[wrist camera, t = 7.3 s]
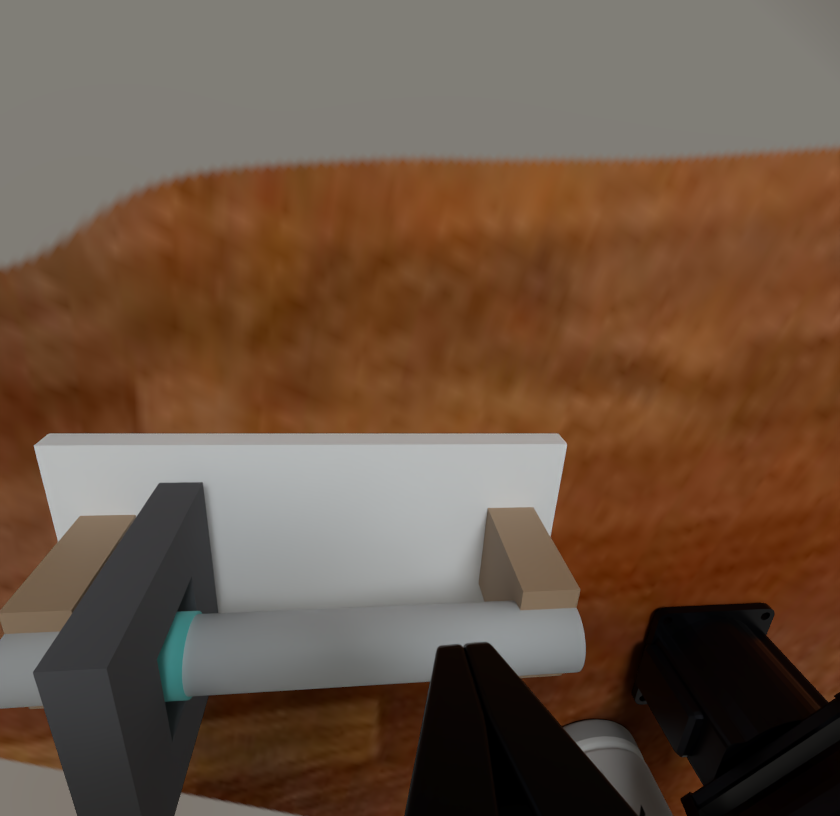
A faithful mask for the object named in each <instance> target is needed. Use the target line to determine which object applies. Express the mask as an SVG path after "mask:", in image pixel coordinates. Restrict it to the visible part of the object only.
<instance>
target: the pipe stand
mask: <svg viewBox="0 0 840 816" xmlns="http://www.w3.org/2000/svg"><path fill="white" fill-rule="evenodd" d="M34 448H35V452H36V456H37V460H38V464H39V468H40V472H41V476H42V480H43V484H44V488H45V492H46V496H47V500H48V504H49V508H50V512H51V516H52V519H53V523H54V527H55V531H56V535H57V539H58V543H57V544H56V545H55V546H54V547H53V549H52V550H51V551H50V552H49V553H48V554H47V556H46V557H45V558H44V559H43V560H42V562H41V563H40V564H39V565H38V566H37V568H36V569H35V570H34V571H33V572H32V573H31V575H30V576H29V577H28V578H27V579H26V581H25V582H24V583H23V584H22V585H21V587H20V588H19V589H18V590H17V591H16V592H15V594H14V595H13V596H12V597H11V598H10V600H9V601H8V602H7V603H6V604H5V606H4V607H3V608H2V609H1V610H0V621H1V625H2V628H3V631H4V636H3V637H2V638H1V640H0V708H15V707H29V709H38V708H44V707H43V704H42V701H41V698H40V694H39V691H38V688H37V685H36V682H35V678H34V675H33V671H34V670H35V668H36V667H37V665H38V664H39V662H40V661H41V659H42V658H43V656H44V655H45V653H46V652H47V650H48V649H49V647H50V646H51V644H52V643H53V641H54V640H55V638H56V637H57V635H58V634H59V632H60V631H61V629H62V628H63V626H64V625H65V623H66V622H67V620H68V619H69V617H70V616H71V614H72V613H73V611H74V610H75V608H76V607H77V605H78V604H79V602H80V601H81V599H82V598H83V596H84V595H85V593H86V592H87V590H88V589H89V587H90V586H91V584H92V583H93V581H94V580H95V578H96V577H97V575H98V574H99V572H100V571H101V569H102V568H103V566H104V565H105V563H106V562H107V560H108V559H109V557H110V556H111V554H112V553H113V551H114V550H115V548H116V547H117V545H118V544H119V542H120V541H121V539H122V538H123V536H124V535H125V533H126V532H127V530H128V529H129V527H130V526H131V524H132V523H133V521H134V520H135V518H136V517H137V515H138V514H139V512H140V511H141V509H142V508H143V506H144V505H145V503H146V502H147V500H148V499H149V497H150V496H151V494H152V493H153V491H154V490H155V488H156V487H157V485H158V484H159V483H180V482H203V487H204V496H205V504H206V513H207V521H208V529H209V538H210V546H211V555H212V563H213V571H214V580H215V588H216V597H217V605H218V613H210V614H202V612H201V611H181V612H177V613H176V615H175V618H174V620H173V622H172V625H171V627H170V629H169V632H168V634H167V637H166V639H165V641H164V644H163V646H162V648H161V651H160V653H159V656H158V658H157V662H158V668H159V673H160V679H161V684H162V689H163V695H164V700H165V702H169V701H185V700H190V699H191V698H192V697H193V696H206V695H222V694H238V693H254V692H270V691H286V690H302V689H318V688H334V687H350V686H366V685H381V684H397V683H413V682H429V681H430V680H431V675H432V670H433V664H434V659H435V654H436V650H437V647H438V646H440V645H449V644H461V645H462V646H464V645H465V644H466V643H473V642H488V643H490V644H491V645H492V646H493V647H494V648H495V649H496V650H497V652H498V653H499V654H500V655H501V656H502V657H503V659H504V660H505V661H506V662H507V663H508V664H509V666H510V667H511V668H512V669H513V670H514V671H515V673H516V674H517V675H518V676H519V677H520V678H528V677H544V676H560V675H562V673H573V672H579V671H581V669H582V668H583V665H584V662H585V654H586V644H585V635H584V629H583V625H582V621H581V618H580V615H579V613H578V610H577V608H576V607H577V602H578V598H579V593H580V588H579V586H578V585H577V583H576V581H575V579H574V578H573V576H572V574H571V572H570V571H569V569H568V567H567V565H566V564H565V562H564V560H563V558H562V557H561V555H560V553H559V551H558V549H557V548H556V546H555V544H554V542H553V541H552V539H551V537H550V536H551V530H552V525H553V519H554V514H555V508H556V503H557V498H558V492H559V487H560V481H561V476H562V470H563V465H564V459H565V454H566V448H567V443H566V442H565V441H564V440H563V439H562V437H561V436H560V435H559V434H48V435H46V436H45V437H44V438H43V439H41V440H40V441H39V442H38V443H36V444H35V445H34Z"/></svg>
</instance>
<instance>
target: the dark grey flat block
mask: <svg viewBox="0 0 840 816" xmlns="http://www.w3.org/2000/svg"><path fill="white" fill-rule="evenodd" d="M181 611H201V612H202V614H210V613H218V605H217V597H216V588H215V580H214V571H213V563H212V555H211V546H210V538H209V529H208V521H207V513H206V504H205V496H204V487H203V482H180V483H159V484H158V485H157V487H156V488H155V490H154V491H153V493H152V494H151V496H150V497H149V499H148V500H147V502H146V503H145V505H144V506H143V508H142V509H141V511H140V512H139V514H138V515H137V517H136V518H135V520H134V521H133V523H132V524H131V526H130V527H129V529H128V530H127V532H126V533H125V535H124V536H123V538H122V539H121V541H120V542H119V544H118V545H117V547H116V548H115V550H114V551H113V553H112V554H111V556H110V557H109V559H108V560H107V562H106V563H105V565H104V566H103V568H102V569H101V571H100V572H99V574H98V575H97V577H96V578H95V580H94V581H93V583H92V584H91V586H90V587H89V589H88V590H87V592H86V593H85V595H84V596H83V598H82V599H81V601H80V602H79V604H78V605H77V607H76V608H75V610H74V611H73V613H72V614H71V616H70V617H69V619H68V620H67V622H66V623H65V625H64V626H63V628H62V629H61V631H60V632H59V634H58V635H57V637H56V638H55V640H54V641H53V643H52V644H51V646H50V647H49V649H48V650H47V652H46V653H45V655H44V656H43V658H42V659H41V661H40V662H39V664H38V665H37V667H36V668H35V670H34V671H33V675H34V678H35V682H36V685H37V688H38V691H39V694H40V698H41V701H42V704H43V707H44V710H45V714H46V717H47V720H48V723H49V726H50V730H51V733H52V736H53V739H54V742H55V746H56V749H57V752H58V755H59V758H60V762H61V765H62V768H63V771H64V774H65V778H66V780H67V784H68V787H69V790H70V793H71V797H72V800H73V803H74V806H75V810H76V813H77V816H174V815H175V811H176V808H177V804H178V801H179V797H180V794H181V790H182V787H183V783H184V780H185V776H186V773H187V769H188V766H189V762H190V759H191V755H192V752H193V749H194V745H195V742H196V738H197V735H198V731H199V728H200V724H201V721H202V717H203V714H204V710H205V707H206V703H207V700H208V696H209V695H206V696H193V697H192V698H191V699H190V700H185V701H169V702H165V700H164V695H163V689H162V684H161V679H160V673H159V668H158V662H157V658H158V656H159V653H160V651H161V648H162V646H163V644H164V641H165V639H166V637H167V634H168V632H169V629H170V627H171V625H172V622H173V620H174V618H175V615H176V613H177V612H181Z"/></svg>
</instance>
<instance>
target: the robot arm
mask: <svg viewBox="0 0 840 816" xmlns="http://www.w3.org/2000/svg"><path fill="white" fill-rule="evenodd" d="M773 617H774V610H773V609H772V608H771V607H770V606H769V605H767V604H766V603H755V604H734V605H712V606H691V607H670V608H662V609H660V610H658V611H657V612H656V613H655V615H654V618H653V621H652V625H651V628H650V631H649V635H648V638H647V642H646V645H645V648H644V652H643V655H642V659H641V662H640V665H639V669H638V672H637V676H636V679H635V682H634V686H633V689H632V696H633V698H634V700H635V702H636V703H637V704H641V705H642V704H648V706H649V707H650V709H651V711H652V713H653V714H654V716H655V718H656V720H657V721H658V723H659V725H660V726H661V728H662V730H663V732H664V733H665V735H666V737H667V739H668V740H669V742H670V744H671V746H672V747H673V749H674V751H675V752H676V753H677V754H678V755H679V756H680V757H687V759H688V760H689V762H690V764H691V765H692V767H693V769H694V770H695V772H696V774H697V776H698V777H699V779H700V781H701V782H702V784H703V787H701V788H700V789H698V790H697V791H695V792H694V793H691V792H689V793H688V794H686V795H685V796H683V797H682V798H681V802H682V804H683V807H684V809H685V812H686V814H687V816H840V692H839V693H837V694H836V695H834V697H835V699H833V700H832V701H830V702H829V703H828V701H827V700H826V699H825V698H824V697H823V696H822V695H821V694H820V693H819V692H818V691H817V690H816V689H815V687H814V686H813V685H812V684H811V683H810V682H809V681H808V680H807V679H806V678H805V677H804V676H803V675H802V673H801V672H800V671H799V670H798V669H797V668H796V667H795V666H794V665H793V664H792V663H791V662H790V661H789V659H788V658H787V657H786V656H785V655H784V654H783V653H782V652H781V651H780V650H779V649H778V648H777V647H776V645H775V644H774V643H773V642H772V641H771V640H770V639H769V638H768V637H767V636H766V634H767V632H768V629H769V627H770V625H771V622H772V620H773ZM404 816H638V814H637V813H636V812H635V811H634V810H633V809H632V808H631V806H630V805H629V804H628V803H627V802H626V801H625V799H624V798H623V797H622V796H621V795H620V794H619V792H618V791H617V790H616V789H615V788H614V787H613V785H612V784H611V783H610V782H609V781H608V780H607V778H606V777H605V776H604V775H603V774H602V773H601V771H600V770H599V769H598V768H597V767H596V766H595V764H594V763H593V762H592V761H591V760H590V759H589V757H588V756H587V755H586V754H585V753H584V752H583V751H582V749H581V748H580V747H579V746H578V745H577V744H576V742H575V741H574V740H573V739H572V738H571V737H570V735H569V734H568V733H567V732H566V731H565V730H564V728H563V727H562V726H561V725H560V724H559V723H558V721H557V720H556V719H555V718H554V717H553V716H552V714H551V713H550V712H549V711H548V710H547V709H546V707H545V706H544V705H543V704H542V703H541V702H540V700H539V699H538V698H537V697H536V696H535V695H534V693H533V692H532V691H531V690H530V689H529V688H528V687H527V685H526V684H525V683H524V682H523V681H522V680H521V678H520V677H519V676H518V675H517V674H516V673H515V671H514V670H513V669H512V668H511V667H510V666H509V664H508V663H507V662H506V661H505V660H504V659H503V657H502V656H501V655H500V654H499V653H498V652H497V650H496V649H495V648H494V647H493V646H492V645H491V644H490V643H488V642H473V643H466V644H465V645H464V646H462V645H461V644H449V645H440V646H438V647H437V650H436V654H435V659H434V664H433V670H432V675H431V680H430V685H429V690H428V696H427V701H426V706H425V711H424V716H423V722H422V727H421V732H420V737H419V743H418V748H417V753H416V758H415V763H414V769H413V774H412V779H411V784H410V789H409V795H408V800H407V805H406V810H405V815H404Z"/></svg>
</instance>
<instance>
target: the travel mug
mask: <svg viewBox="0 0 840 816" xmlns="http://www.w3.org/2000/svg"><path fill="white" fill-rule="evenodd" d="M563 728H564V730H565V731H566V732H567V733H568V734H569V735H570V737H571V738H572V739H573V740H574V741H575V742H576V744H577V745H578V746H579V747H580V748H581V749H582V751H583V752H584V753H585V754H586V755H587V756H588V757H589V759H590V760H591V761H592V762H593V763H594V764H595V766H596V767H597V768H598V769H599V770H600V771H601V773H602V774H603V775H604V776H605V777H606V778H607V780H608V781H609V782H610V783H611V784H612V785H613V787H614V788H615V789H616V790H617V791H618V792H619V794H620V795H621V796H622V797H623V798H624V799H625V801H626V802H627V803H628V804H629V805H630V806H631V808H632V809H633V810H634V811H635V812H636V813H637V814H638V816H673V815H672V813H671V811H670V809H669V807H668V805H667V803H666V801H665V799H664V797H663V795H662V793H661V791H660V789H659V787H658V785H657V783H656V781H655V779H654V777H653V775H652V774H651V772H650V770H649V768H648V766H647V764H646V763H645V761H644V759H643V756H642V754H641V752H640V750H639V748H638V746H637V744H636V742H635V740H634V738H633V736H632V735H631V733H630V732H629V731H628V730H627V729H626V728H624V727H623V726H622V725H620V724H618V723H615V722H612V721H608V720H599V719H591V720H583V721H578V722H574V723H572V724H569V725H566V726H564V727H563Z"/></svg>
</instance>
